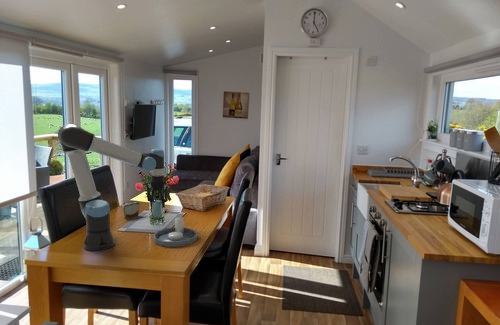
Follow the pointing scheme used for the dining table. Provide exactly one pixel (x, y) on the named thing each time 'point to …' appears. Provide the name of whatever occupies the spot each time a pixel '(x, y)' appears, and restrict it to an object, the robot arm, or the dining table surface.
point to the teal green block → (157, 209)
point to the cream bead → (179, 224)
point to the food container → (131, 209)
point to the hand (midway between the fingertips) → (157, 212)
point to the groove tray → (169, 243)
